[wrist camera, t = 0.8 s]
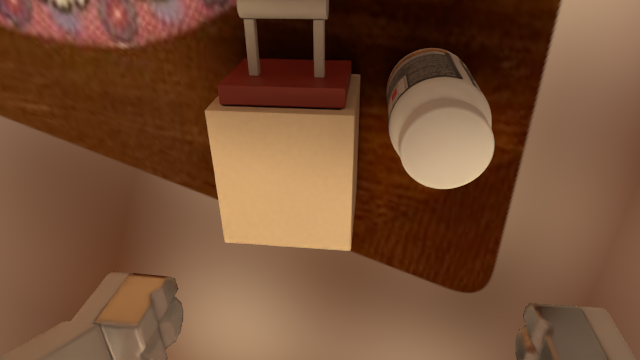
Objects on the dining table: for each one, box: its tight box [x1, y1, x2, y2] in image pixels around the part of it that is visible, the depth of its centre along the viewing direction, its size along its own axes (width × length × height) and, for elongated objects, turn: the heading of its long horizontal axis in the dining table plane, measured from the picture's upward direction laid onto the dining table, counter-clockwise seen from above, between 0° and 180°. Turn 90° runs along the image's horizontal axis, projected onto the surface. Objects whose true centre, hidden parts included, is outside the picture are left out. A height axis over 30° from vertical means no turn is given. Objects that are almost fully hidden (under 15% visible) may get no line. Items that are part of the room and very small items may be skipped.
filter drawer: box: [217, 0, 352, 110], centre depth 28 cm, size 13×7×6 cm, turn 1°
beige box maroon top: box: [205, 74, 360, 251], centre depth 31 cm, size 10×9×8 cm
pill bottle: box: [386, 48, 494, 189], centre depth 26 cm, size 6×6×10 cm
